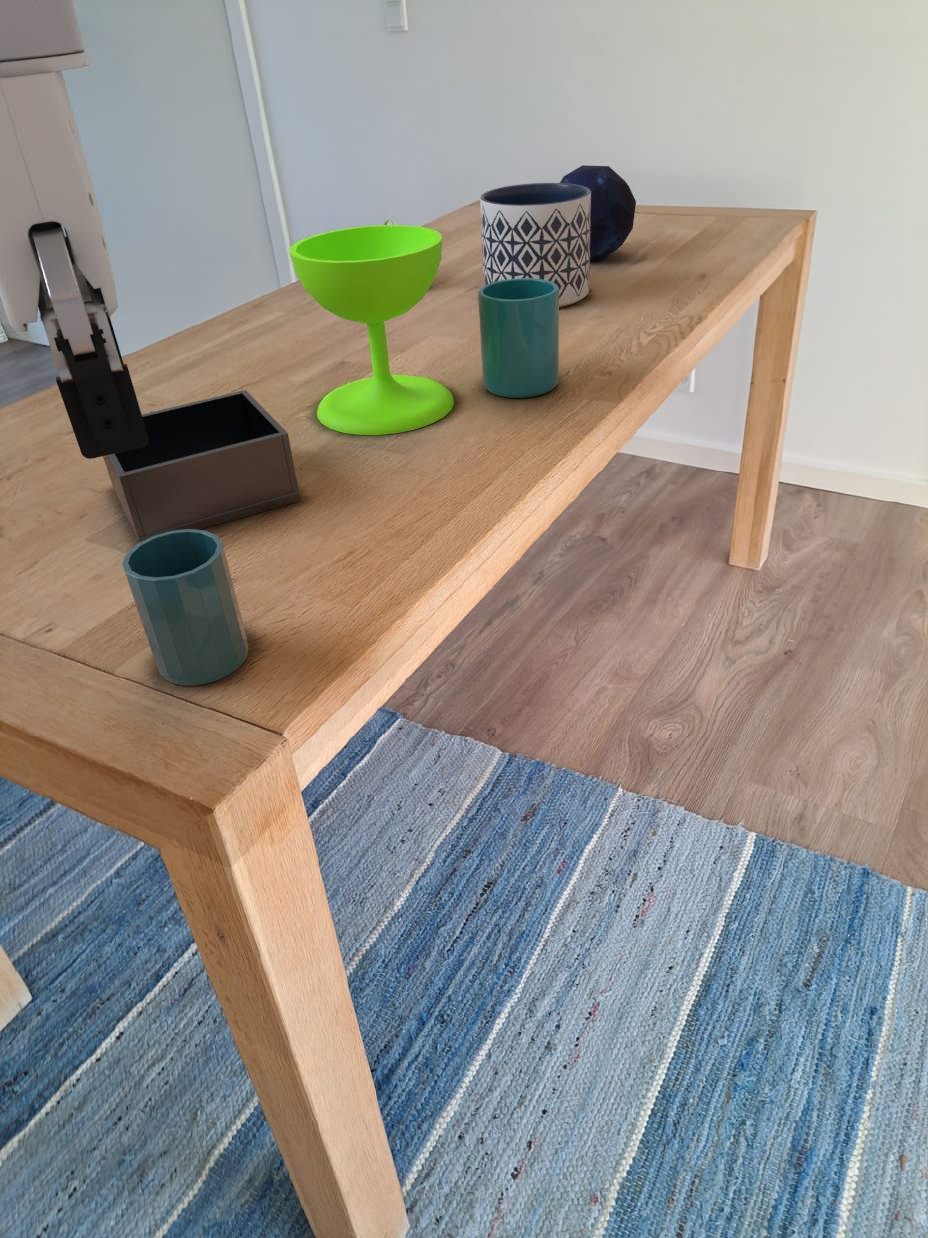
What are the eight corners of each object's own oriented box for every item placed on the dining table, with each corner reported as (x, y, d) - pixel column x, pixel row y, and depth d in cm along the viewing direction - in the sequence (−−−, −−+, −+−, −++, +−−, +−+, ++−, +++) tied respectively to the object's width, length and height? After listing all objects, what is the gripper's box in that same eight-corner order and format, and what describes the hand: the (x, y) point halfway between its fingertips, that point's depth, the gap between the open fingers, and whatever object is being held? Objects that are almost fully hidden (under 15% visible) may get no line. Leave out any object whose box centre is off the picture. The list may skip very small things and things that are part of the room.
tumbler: (169, 697, 62) (133, 591, 57) (149, 649, 67) (114, 546, 62) (259, 665, 64) (233, 560, 59) (234, 621, 69) (207, 520, 64)
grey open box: (141, 547, 80) (118, 476, 75) (114, 490, 89) (93, 425, 85) (300, 500, 85) (287, 432, 81) (259, 452, 95) (245, 389, 90)
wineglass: (369, 374, 112) (349, 221, 101) (479, 391, 105) (470, 229, 94) (288, 421, 101) (257, 256, 90) (404, 444, 94) (385, 267, 83)
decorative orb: (608, 241, 138) (634, 146, 137) (522, 235, 145) (547, 144, 144) (633, 279, 151) (657, 192, 150) (553, 272, 157) (575, 189, 157)
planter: (468, 308, 132) (462, 203, 124) (505, 279, 144) (502, 181, 135) (571, 314, 126) (572, 205, 118) (601, 283, 138) (604, 182, 130)
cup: (571, 365, 110) (572, 271, 103) (548, 402, 101) (547, 301, 94) (502, 361, 113) (498, 269, 106) (473, 397, 103) (467, 299, 97)
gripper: (-94, 39, 43) (30, 380, 53) (-138, 48, 30) (39, 501, 40) (68, 25, 45) (158, 356, 55) (94, 28, 32) (206, 462, 42)
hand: (108, 416), depth 47 cm, fingers open, 9 cm apart
